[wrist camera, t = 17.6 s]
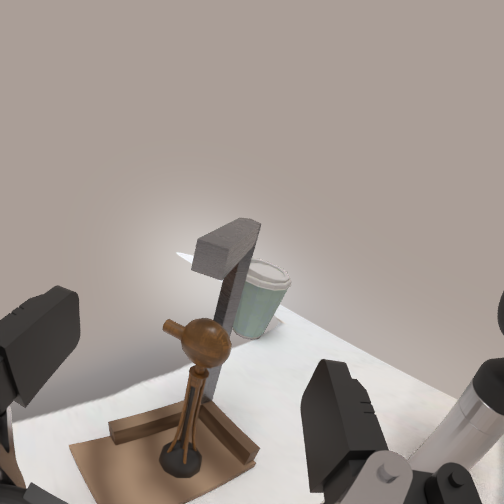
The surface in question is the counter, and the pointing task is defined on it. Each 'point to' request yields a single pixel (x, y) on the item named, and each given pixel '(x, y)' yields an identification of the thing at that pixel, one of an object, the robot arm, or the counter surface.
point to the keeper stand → (179, 407)
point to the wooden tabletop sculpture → (193, 389)
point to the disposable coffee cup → (260, 298)
